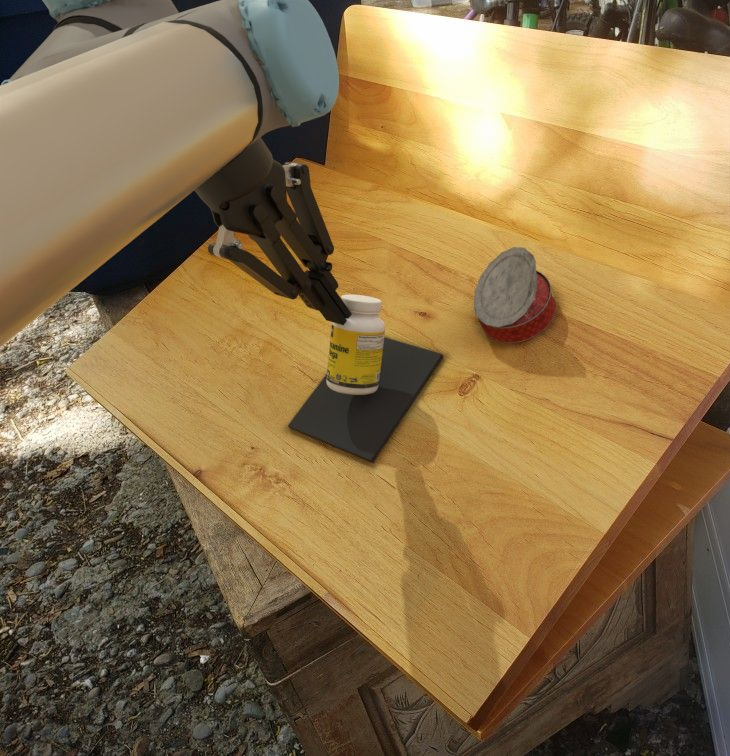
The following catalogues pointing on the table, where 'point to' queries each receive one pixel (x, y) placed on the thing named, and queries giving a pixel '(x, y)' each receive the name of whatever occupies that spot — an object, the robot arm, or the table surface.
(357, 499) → the table surface
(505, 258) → the canned food
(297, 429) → the mat
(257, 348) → the table surface
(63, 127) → the robot arm
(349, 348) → the pill bottle
